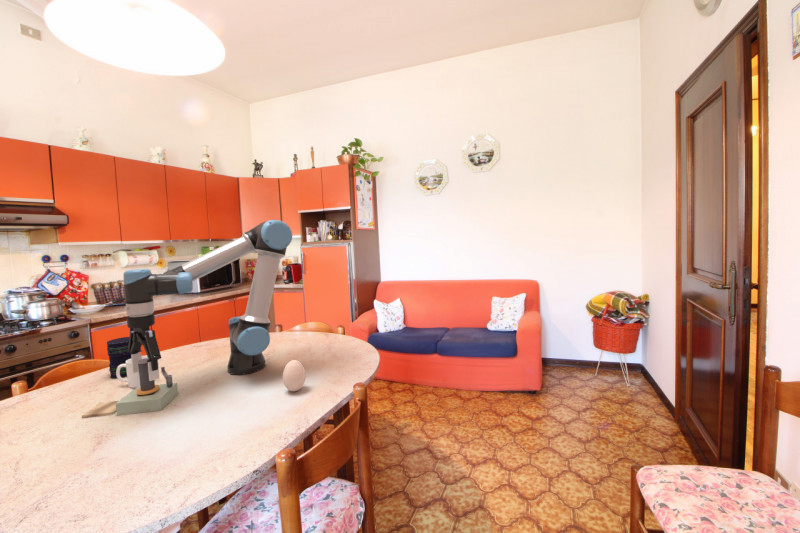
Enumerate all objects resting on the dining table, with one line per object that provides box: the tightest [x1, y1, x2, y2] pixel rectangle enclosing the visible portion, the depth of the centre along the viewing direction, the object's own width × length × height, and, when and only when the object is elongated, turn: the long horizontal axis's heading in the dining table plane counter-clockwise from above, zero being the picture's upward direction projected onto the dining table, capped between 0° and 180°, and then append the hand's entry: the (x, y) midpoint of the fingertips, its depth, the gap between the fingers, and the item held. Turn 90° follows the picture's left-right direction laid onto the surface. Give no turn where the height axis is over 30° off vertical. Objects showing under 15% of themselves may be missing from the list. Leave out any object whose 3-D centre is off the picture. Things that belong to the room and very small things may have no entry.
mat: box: [81, 400, 119, 419], centre depth 116 cm, size 9×9×1 cm
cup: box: [116, 355, 148, 389], centre depth 136 cm, size 8×12×10 cm
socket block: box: [116, 382, 179, 416], centre depth 120 cm, size 13×13×4 cm
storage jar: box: [106, 336, 132, 380], centre depth 148 cm, size 10×10×15 cm
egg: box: [282, 359, 307, 392], centre depth 126 cm, size 8×8×11 cm
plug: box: [136, 358, 160, 396], centre depth 119 cm, size 6×6×16 cm
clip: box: [160, 366, 174, 387], centre depth 127 cm, size 13×2×4 cm, turn 43°
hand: (145, 375), depth 119 cm, fingers open, 13 cm apart
